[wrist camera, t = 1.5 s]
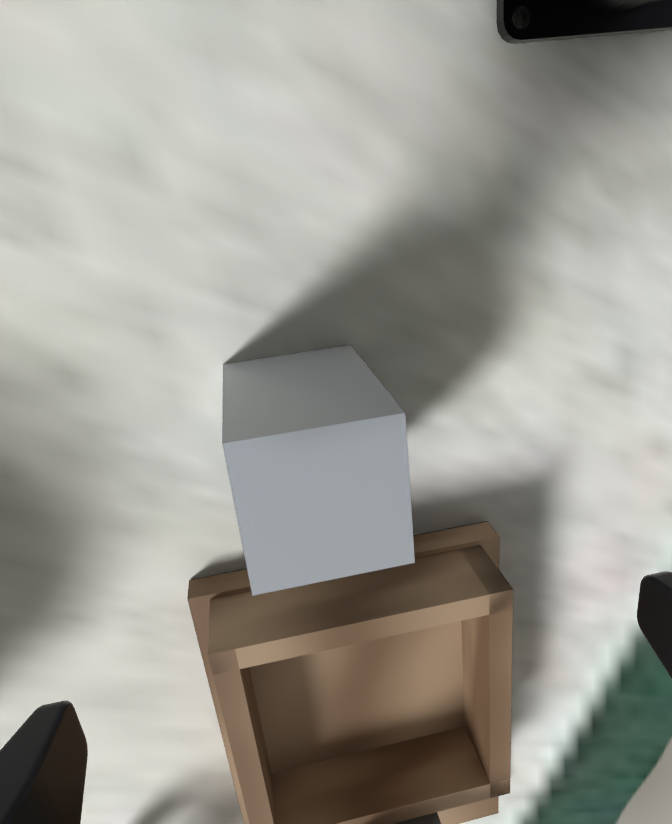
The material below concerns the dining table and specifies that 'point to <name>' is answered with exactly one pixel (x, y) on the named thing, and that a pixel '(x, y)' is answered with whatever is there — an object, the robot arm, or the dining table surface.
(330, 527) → the block
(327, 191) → the dining table surface
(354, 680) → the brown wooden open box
